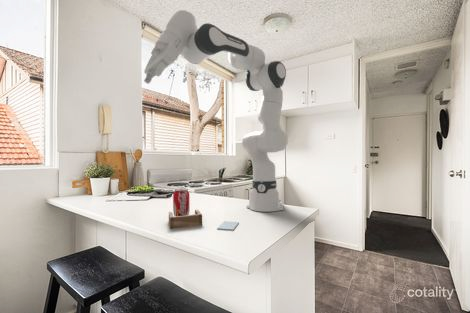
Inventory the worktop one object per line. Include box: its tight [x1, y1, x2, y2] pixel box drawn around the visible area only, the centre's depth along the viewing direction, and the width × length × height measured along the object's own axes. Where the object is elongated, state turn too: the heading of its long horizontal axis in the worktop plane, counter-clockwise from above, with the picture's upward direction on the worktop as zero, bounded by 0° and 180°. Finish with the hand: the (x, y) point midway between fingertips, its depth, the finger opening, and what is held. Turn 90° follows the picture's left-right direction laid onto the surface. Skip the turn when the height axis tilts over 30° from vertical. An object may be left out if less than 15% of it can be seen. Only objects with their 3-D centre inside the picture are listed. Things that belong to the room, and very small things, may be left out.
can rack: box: [168, 208, 203, 229], centre depth 89 cm, size 9×12×4 cm
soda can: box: [172, 187, 191, 217], centre depth 100 cm, size 7×7×12 cm
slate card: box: [216, 220, 240, 231], centre depth 85 cm, size 9×6×1 cm, turn 166°
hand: (151, 78), depth 76 cm, fingers open, 8 cm apart
